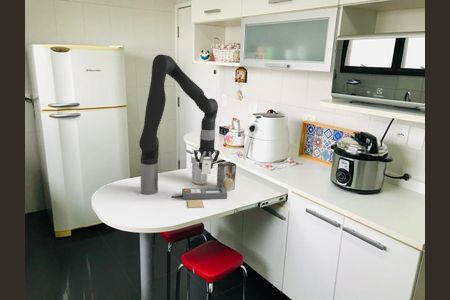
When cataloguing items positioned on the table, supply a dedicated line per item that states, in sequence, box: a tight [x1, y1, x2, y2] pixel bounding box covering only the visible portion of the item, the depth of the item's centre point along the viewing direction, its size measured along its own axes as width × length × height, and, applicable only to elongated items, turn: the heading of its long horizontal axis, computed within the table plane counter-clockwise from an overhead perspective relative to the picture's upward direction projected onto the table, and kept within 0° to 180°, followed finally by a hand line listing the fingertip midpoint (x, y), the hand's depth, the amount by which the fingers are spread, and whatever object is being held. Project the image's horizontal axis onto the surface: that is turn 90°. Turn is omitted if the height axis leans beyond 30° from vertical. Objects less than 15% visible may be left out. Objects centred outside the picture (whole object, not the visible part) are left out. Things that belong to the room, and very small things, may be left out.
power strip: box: [171, 187, 228, 201], centre depth 179 cm, size 30×8×4 cm, turn 102°
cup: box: [190, 152, 210, 186], centre depth 198 cm, size 11×11×17 cm
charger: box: [201, 159, 212, 175], centre depth 171 cm, size 5×5×7 cm
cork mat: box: [186, 200, 205, 209], centre depth 170 cm, size 8×8×1 cm
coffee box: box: [216, 161, 237, 193], centre depth 189 cm, size 9×6×16 cm
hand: (205, 168), depth 171 cm, fingers closed on charger, 4 cm apart
